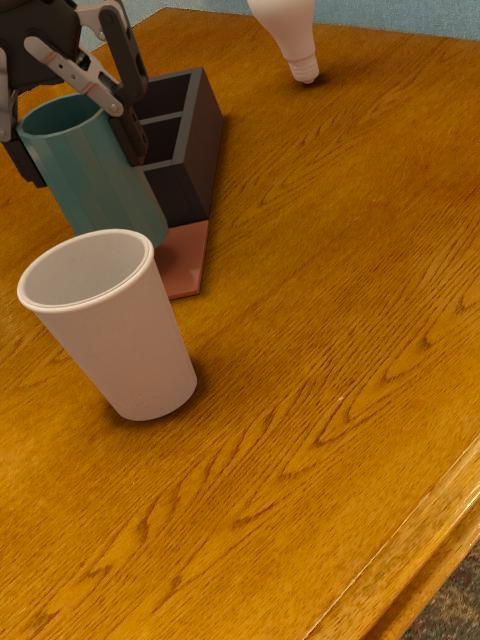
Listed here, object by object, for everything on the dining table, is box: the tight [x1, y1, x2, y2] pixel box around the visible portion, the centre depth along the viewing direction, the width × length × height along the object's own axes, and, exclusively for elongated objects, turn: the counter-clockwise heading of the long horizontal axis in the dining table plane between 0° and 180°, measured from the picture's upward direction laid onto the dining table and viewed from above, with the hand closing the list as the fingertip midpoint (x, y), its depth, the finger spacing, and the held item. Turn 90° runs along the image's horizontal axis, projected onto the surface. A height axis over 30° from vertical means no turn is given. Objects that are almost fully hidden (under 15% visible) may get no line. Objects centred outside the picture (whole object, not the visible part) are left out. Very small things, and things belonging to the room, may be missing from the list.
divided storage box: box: [132, 65, 225, 228], centre depth 87 cm, size 10×18×5 cm, turn 8°
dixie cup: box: [16, 229, 198, 422], centre depth 64 cm, size 8×8×10 cm
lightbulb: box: [246, 0, 320, 85], centre depth 93 cm, size 6×6×11 cm
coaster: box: [154, 219, 211, 301], centre depth 78 cm, size 10×10×1 cm
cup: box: [16, 91, 170, 249], centre depth 73 cm, size 6×6×10 cm
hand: (91, 171), depth 72 cm, fingers closed on cup, 6 cm apart
